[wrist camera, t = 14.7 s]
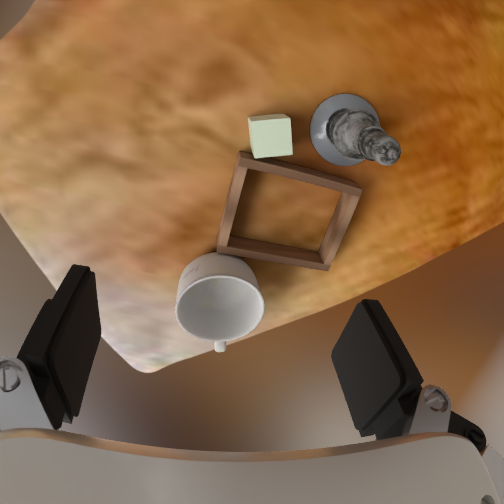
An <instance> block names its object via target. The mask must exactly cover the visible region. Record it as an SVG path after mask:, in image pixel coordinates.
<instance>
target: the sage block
mask: <svg viewBox="0 0 504 504" xmlns="http://www.w3.org/2000/svg"><path fill="white" fill-rule="evenodd" d="M248 123H249V133H250V143H251V151H252V153H253V155H254V158H264V157H274V156H285V155H293V152H292V135H291V120H290V117H288V116H286V115H285V114H270V115H259V116H249V117H248Z"/></svg>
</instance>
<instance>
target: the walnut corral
mask: <svg viewBox="0 0 504 504" xmlns="http://www.w3.org/2000/svg"><path fill="white" fill-rule="evenodd" d="M247 168H249V169H254V170H258V171H262V172H267V173H271V174H275V175H279V176H283V177H287V178H291V179H295V180H299V181H303V182H307V183H311V184H315V185H318V186H322V187H326V188H329V189H333V190H336V191H340V192H342V194H341V196H340V199H339V201H338V204H337V206H336V209H335V212H334V214H333V217H332V219H331V222H330V224H329V227H328V229H327V231H326V234H325V236H324V239H323V241H322V244H321V246H320V248H319V251H318V252H315V251H310V250H305V249H300V248H295V247H289V246H284V245H279V244H273V243H268V242H263V241H257V240H252V239H247V238H241V237H236V236H231V235H230V231H231V228H232V224H233V220H234V216H235V213H236V209H237V205H238V201H239V198H240V194H241V190H242V187H243V183H244V179H245V176H246V172H247ZM362 191H363V190H362V189H361V188H360V187H359V186H358V185H357V184H356V183H355V182H354V181H351V180H347V179H344V178H341V177H337V176H334V175H331V174H327V173H324V172H320V171H317V170H313V169H310V168H306V167H302V166H298V165H295V164H291V163H287V162H283V161H279V160H275V159H271V158H267V157H264V158H254V155H253V154H250V153H246V152H242V151H239V154H238V157H237V161H236V165H235V169H234V173H233V176H232V180H231V184H230V188H229V192H228V196H227V200H226V204H225V208H224V212H223V216H222V220H221V224H220V228H219V232H218V236H217V252H219V253H225V254H230V255H236V256H242V257H247V258H253V259H259V260H265V261H271V262H276V263H282V264H288V265H294V266H300V267H306V268H311V269H317V270H323V271H328V270H329V268H330V266H331V263H332V261H333V259H334V257H335V254H336V252H337V250H338V248H339V245H340V243H341V241H342V239H343V236H344V234H345V232H346V229H347V227H348V225H349V222H350V220H351V218H352V215H353V213H354V210H355V208H356V206H357V203H358V201H359V198H360V196H361V193H362Z"/></svg>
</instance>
